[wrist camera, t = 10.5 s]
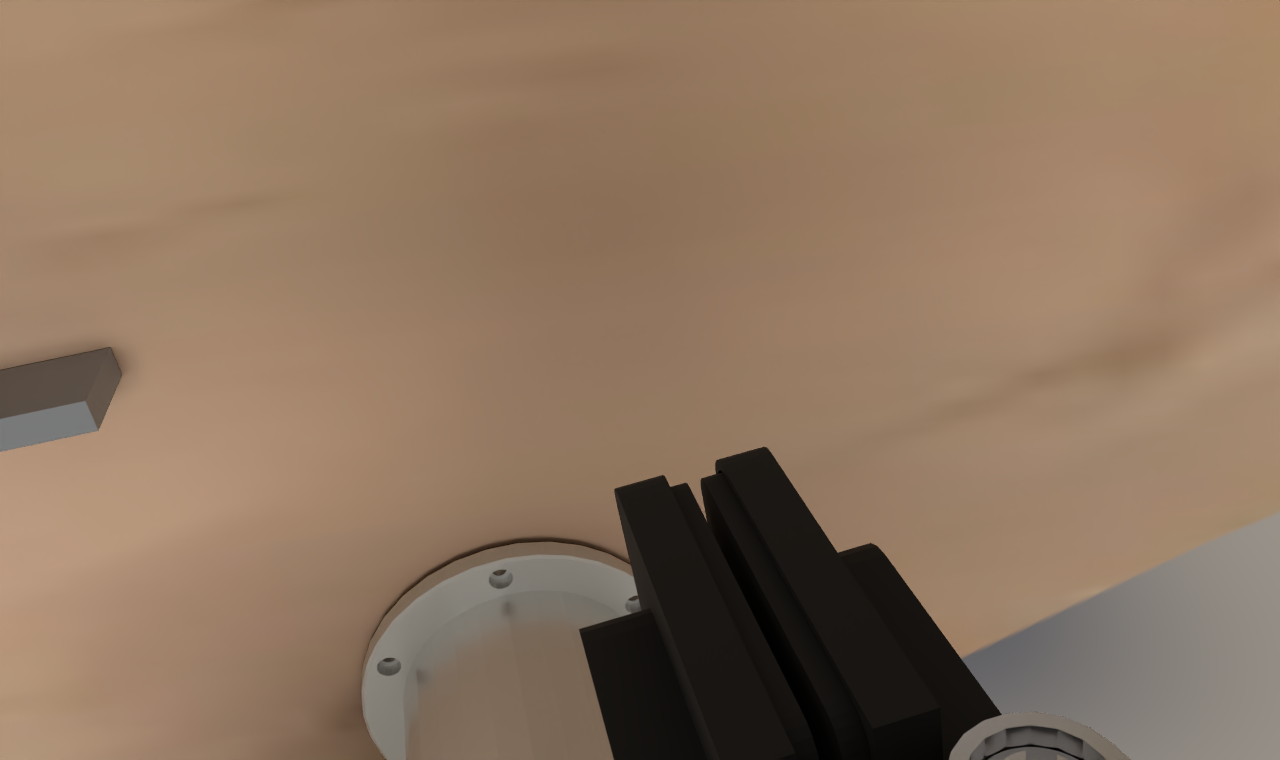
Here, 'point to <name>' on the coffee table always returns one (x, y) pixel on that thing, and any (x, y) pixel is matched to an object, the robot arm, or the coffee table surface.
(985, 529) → the coffee table surface
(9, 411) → the frame
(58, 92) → the coffee table surface
